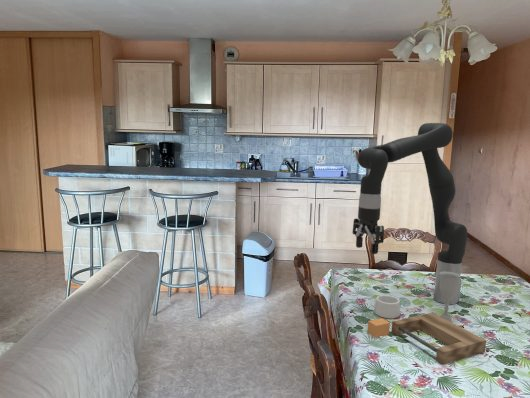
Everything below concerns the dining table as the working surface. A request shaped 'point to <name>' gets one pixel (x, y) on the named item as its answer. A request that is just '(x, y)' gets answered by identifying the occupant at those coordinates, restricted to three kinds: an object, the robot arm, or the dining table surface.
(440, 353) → the shelf
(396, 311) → the mug
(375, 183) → the robot arm
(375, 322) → the tall cardboard carton
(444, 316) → the chalice
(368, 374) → the dining table surface
